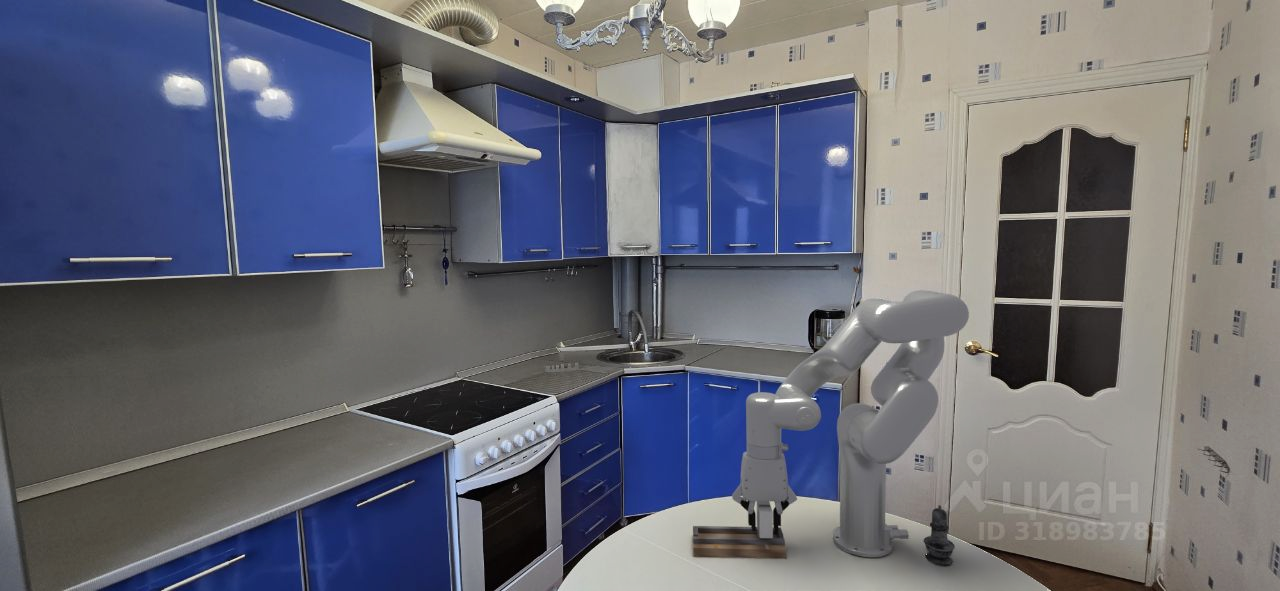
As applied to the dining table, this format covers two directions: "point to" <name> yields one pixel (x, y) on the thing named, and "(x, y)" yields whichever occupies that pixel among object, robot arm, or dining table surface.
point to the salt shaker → (939, 540)
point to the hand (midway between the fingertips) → (764, 527)
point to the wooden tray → (736, 543)
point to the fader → (764, 519)
